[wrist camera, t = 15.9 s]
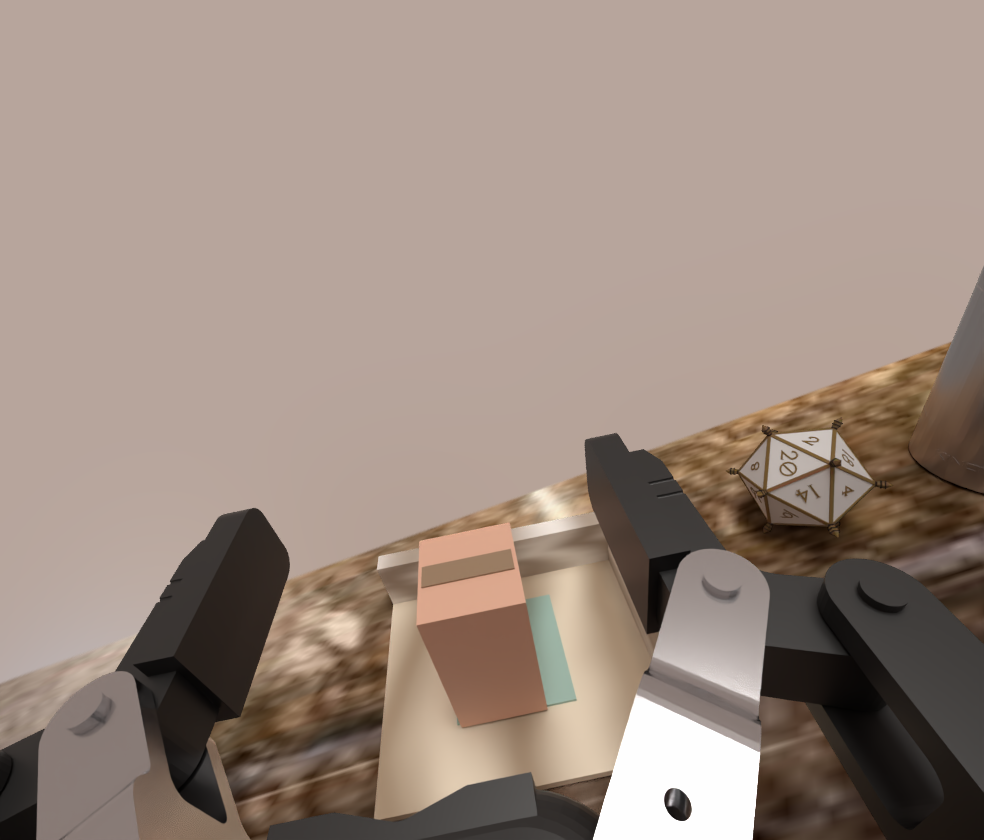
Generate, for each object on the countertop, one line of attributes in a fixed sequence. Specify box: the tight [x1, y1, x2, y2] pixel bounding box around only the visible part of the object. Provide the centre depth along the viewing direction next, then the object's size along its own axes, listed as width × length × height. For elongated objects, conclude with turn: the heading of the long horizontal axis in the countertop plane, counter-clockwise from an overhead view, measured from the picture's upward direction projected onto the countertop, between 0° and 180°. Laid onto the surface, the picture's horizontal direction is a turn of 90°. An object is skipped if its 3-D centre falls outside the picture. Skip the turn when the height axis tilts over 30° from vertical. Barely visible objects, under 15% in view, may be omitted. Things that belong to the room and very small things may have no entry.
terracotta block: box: [416, 523, 548, 728], centre depth 24 cm, size 5×5×10 cm
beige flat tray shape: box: [374, 512, 659, 822], centre depth 27 cm, size 18×14×5 cm
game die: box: [726, 417, 893, 537], centre depth 32 cm, size 9×8×10 cm
